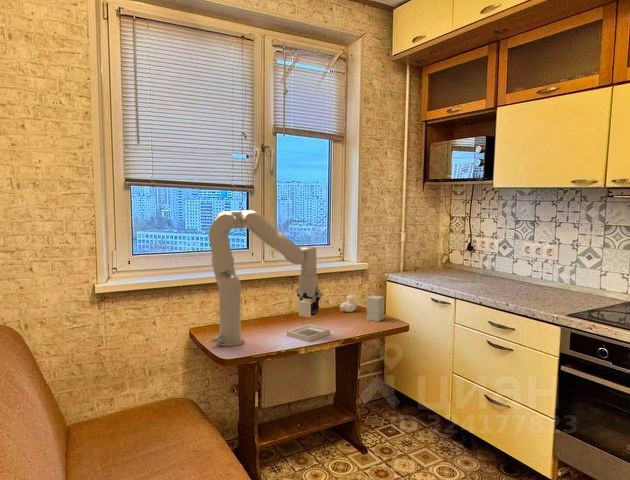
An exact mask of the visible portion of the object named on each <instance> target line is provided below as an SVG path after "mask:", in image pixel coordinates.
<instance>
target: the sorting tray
mask: <svg viewBox="0 0 630 480" xmlns="http://www.w3.org/2000/svg"><path fill="white" fill-rule="evenodd" d="M330 334H331V329H329V328H327V327H321V326H318V325H314V324H309V323H308V324H304V325H302V326H298V327H295V328H293V329H290V330H287V331H286V336H287V337H290V338H295V339H298V340H301V341H305V342H311V341H315V340H317V339H320V338H322V337H325V336H327V335H330Z"/></svg>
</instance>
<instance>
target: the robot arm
mask: <svg viewBox="0 0 630 480" xmlns="http://www.w3.org/2000/svg"><path fill="white" fill-rule="evenodd" d="M233 229H234V230H237V229H248V230H249V231H250V232H251V233H252V234H254V235H255V236H256V237H258V239H260V240H261V241H262V242H263V243H265V244H266V245H267V246H269V247H270V248H272V249H274V250H276V251H277V252H279V253H280V254H281V255H282V256H283V258H284V259H285V260H286V261H287V262H289V263H291V264H293V265H300V269H299V272H300V274H299V277H298V283H297V288H296V289H294V290H295V293H296V296H297V297H298V300H299V301H302V300H303V293H307V296H308V297H312V298H313V301H314V302H313V310H317V309H318V301H319V302H320V301H321V300H322V297H323V295H324V293H322V291H321V290H320V286H319V277H318V275H317V274H318V273H317V248H316V247H315V246H301V247H300V246H298V245H297V244H296V243H294V242H293V241H292V240H291V239H290V238H288V237H287V236H286V235H285V234H283V233H282V232H281V231H280V230H279V229H277V228H276V227H275V226H274V225H273V224H272V223H270V222H269V221H268V220H267V219H266V218H265V217H263V216H262V215H261V214H260V213H259V212H258V211H255V210H253V209H247V210H245V209H244V210H229V211H228V210H224V211H220V212H219V213H217V215H216V217H215V219H214V221H213V222H212V223H211V226H210V228H209V231H208V240H209V246H210V251H211V255H212V256H211V264H212V268H213V273H214V276H215V280H216V284H217V286H218V291H219V293H218V294H219V295H218V296H219V297H218V302H219V303H218V304H219V305H218V310H219V312H218V313H219V317H218V318H219V333H218V334H217V336H216V337H212V338H211V339H210V341H211V343H212V344H213V343H216V344H217V346H220V345H221V347H236V345H237V346H240V345H242V344H244V343H245V338H244V337H243V336H242V329H241V327H242V325H241V323H242V321H241V319H242V318H241V316H242V315H241V314H242V313H241V311H242V310H241V295H242V284H241V280H240V278H239V277H238V276H237V274H236V270H235V267H234V265H235V258H234V256H233V251H232V248H231V244H230V240H229V235H230V232H231V231H232V230H233Z"/></svg>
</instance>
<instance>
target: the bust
mask: <svg viewBox="0 0 630 480" xmlns="http://www.w3.org/2000/svg"><path fill="white" fill-rule="evenodd" d="M345 298H346V302H345V301H344V302H342V303H340V305H339V310H340V312H346V313H352V312H354V311H356V308H357V306H358V302H357V301H355V295H354V294H353V295H352V294H348V296H345Z"/></svg>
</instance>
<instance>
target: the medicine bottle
mask: <svg viewBox="0 0 630 480" xmlns="http://www.w3.org/2000/svg"><path fill="white" fill-rule="evenodd" d="M313 302H314V301H313V298H312V297H308V296H307V293H303V300H302V301H300V300H299V301H298V316H300V317H305V318H314V317H316V316H318V315H320V313H319V311H320V308H319V306H320V305H319V303H320V300H319V301H318V309H317V310H313Z"/></svg>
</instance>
